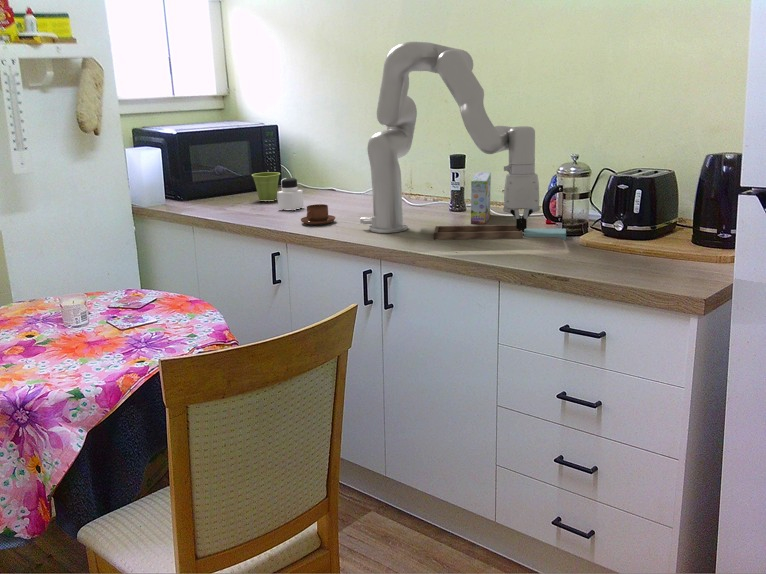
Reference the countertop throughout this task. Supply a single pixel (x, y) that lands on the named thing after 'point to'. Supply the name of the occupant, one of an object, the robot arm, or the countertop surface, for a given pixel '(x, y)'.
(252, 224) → the countertop surface
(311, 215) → the cup and saucer
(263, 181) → the plant pot
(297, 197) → the medicine bottle
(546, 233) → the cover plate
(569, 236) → the countertop surface
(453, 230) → the walnut box
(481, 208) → the snack box
